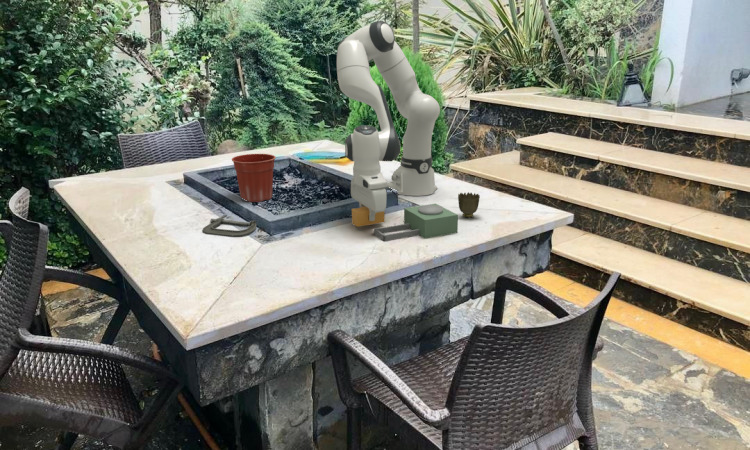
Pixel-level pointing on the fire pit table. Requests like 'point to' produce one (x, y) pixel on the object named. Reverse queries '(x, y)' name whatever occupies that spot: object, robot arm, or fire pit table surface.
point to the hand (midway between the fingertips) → (368, 218)
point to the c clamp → (231, 233)
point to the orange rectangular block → (365, 217)
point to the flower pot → (255, 176)
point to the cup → (468, 204)
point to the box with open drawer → (422, 223)
